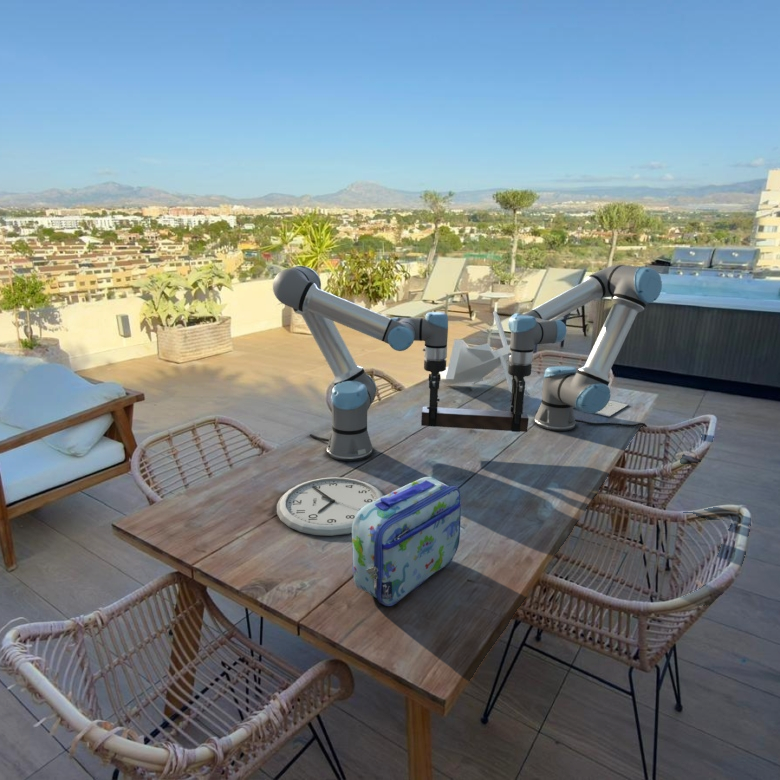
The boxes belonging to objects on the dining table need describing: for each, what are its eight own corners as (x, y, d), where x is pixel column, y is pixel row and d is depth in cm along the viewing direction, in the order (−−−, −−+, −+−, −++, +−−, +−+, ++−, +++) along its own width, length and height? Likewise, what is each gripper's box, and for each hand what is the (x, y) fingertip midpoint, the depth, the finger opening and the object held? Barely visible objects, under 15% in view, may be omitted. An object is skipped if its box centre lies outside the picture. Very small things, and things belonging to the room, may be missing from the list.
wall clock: (392, 527, 129) (268, 531, 127) (391, 533, 130) (269, 537, 127) (383, 473, 158) (282, 475, 155) (383, 478, 158) (282, 480, 156)
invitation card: (608, 416, 214) (573, 407, 224) (608, 416, 214) (573, 408, 224) (628, 404, 229) (594, 396, 238) (628, 405, 229) (594, 397, 238)
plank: (525, 425, 183) (526, 412, 181) (527, 432, 177) (528, 418, 176) (422, 419, 187) (422, 406, 185) (421, 425, 181) (421, 412, 179)
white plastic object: (461, 429, 252) (437, 405, 227) (444, 352, 274) (420, 323, 250) (535, 404, 240) (518, 377, 215) (510, 326, 262) (492, 293, 237)
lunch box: (381, 619, 101) (382, 525, 95) (345, 592, 109) (344, 503, 102) (464, 563, 119) (469, 480, 113) (428, 543, 126) (432, 464, 120)
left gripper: (425, 351, 186) (423, 413, 193) (422, 365, 168) (420, 432, 175) (446, 352, 185) (444, 414, 192) (446, 366, 167) (442, 433, 174)
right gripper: (506, 355, 183) (501, 417, 190) (511, 369, 165) (505, 437, 172) (528, 356, 182) (522, 418, 189) (536, 370, 164) (529, 439, 171)
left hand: (432, 422), depth 183 cm, fingers closed on plank, 6 cm apart
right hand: (514, 427), depth 180 cm, fingers closed on plank, 6 cm apart
